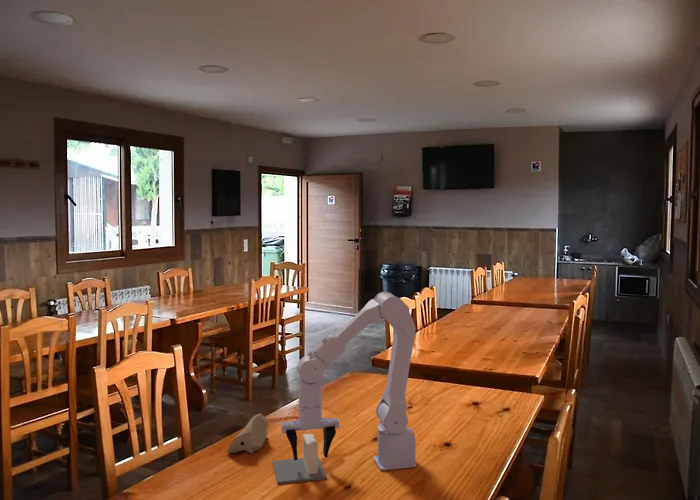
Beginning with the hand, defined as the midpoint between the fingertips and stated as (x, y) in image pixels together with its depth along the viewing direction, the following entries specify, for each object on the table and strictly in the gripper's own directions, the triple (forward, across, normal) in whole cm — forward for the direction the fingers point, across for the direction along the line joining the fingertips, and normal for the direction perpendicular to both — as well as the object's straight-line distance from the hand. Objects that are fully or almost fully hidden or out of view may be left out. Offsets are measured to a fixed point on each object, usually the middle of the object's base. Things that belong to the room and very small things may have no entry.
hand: (310, 457), depth 151 cm
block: (+3, 0, 0) cm, 3 cm away
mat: (+3, +3, 0) cm, 4 cm away
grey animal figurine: (+4, +14, -18) cm, 24 cm away
